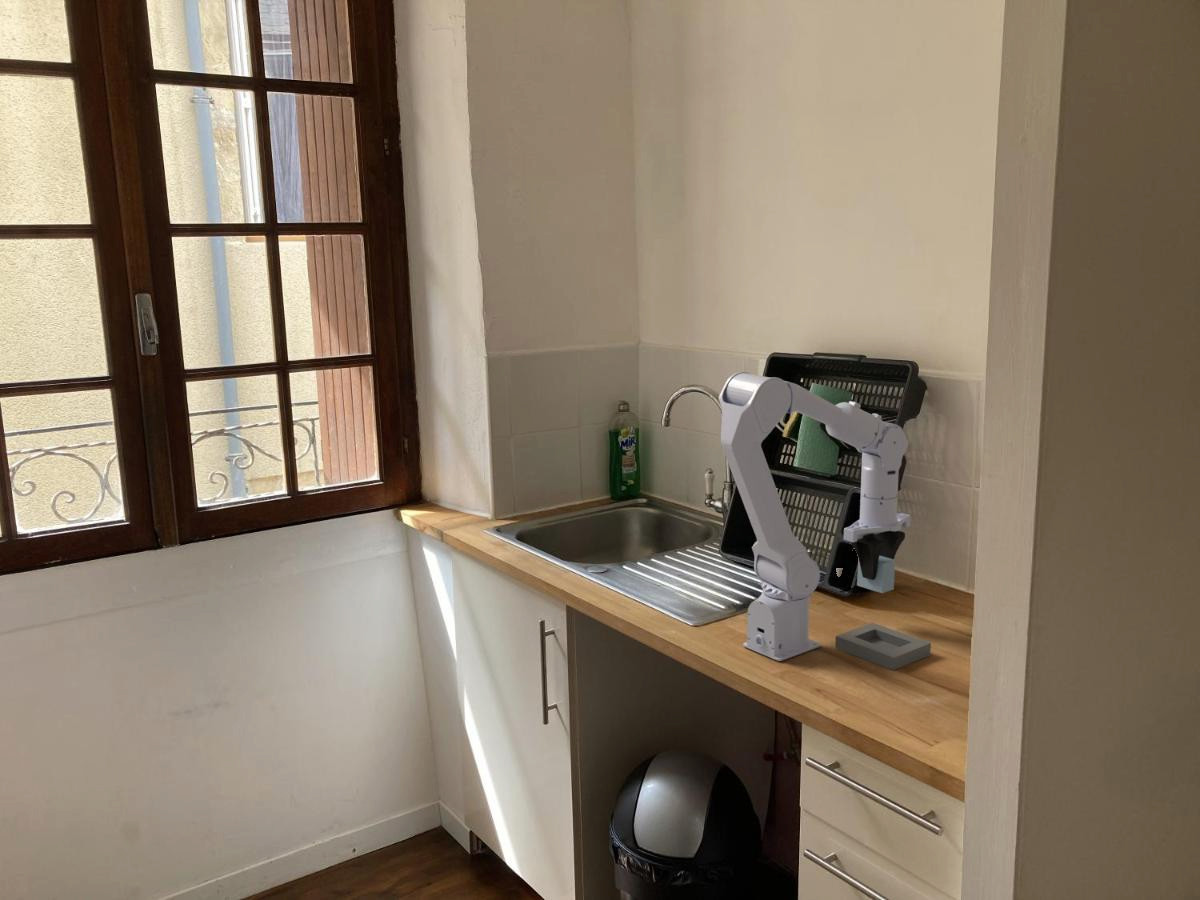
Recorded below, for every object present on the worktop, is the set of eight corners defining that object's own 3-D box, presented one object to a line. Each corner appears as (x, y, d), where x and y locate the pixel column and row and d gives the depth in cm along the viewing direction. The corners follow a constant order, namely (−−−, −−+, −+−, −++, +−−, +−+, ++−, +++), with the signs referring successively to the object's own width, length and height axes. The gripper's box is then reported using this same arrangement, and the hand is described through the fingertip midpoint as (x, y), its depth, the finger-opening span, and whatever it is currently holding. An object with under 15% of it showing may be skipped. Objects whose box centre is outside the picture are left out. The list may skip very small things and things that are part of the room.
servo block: (882, 593, 160) (883, 563, 159) (857, 585, 164) (858, 556, 163) (893, 589, 162) (895, 559, 161) (868, 581, 166) (869, 552, 165)
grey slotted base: (893, 670, 147) (893, 657, 147) (835, 647, 156) (835, 635, 156) (930, 655, 153) (930, 642, 152) (872, 634, 161) (872, 622, 161)
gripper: (870, 507, 153) (867, 591, 155) (927, 492, 161) (923, 572, 164) (834, 498, 158) (831, 580, 161) (891, 485, 167) (888, 562, 169)
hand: (875, 575), depth 163 cm, fingers closed on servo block, 3 cm apart
